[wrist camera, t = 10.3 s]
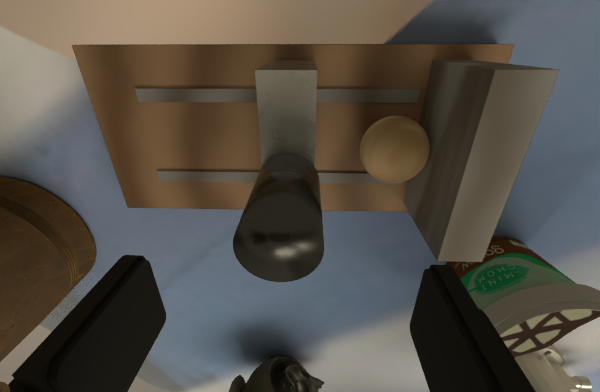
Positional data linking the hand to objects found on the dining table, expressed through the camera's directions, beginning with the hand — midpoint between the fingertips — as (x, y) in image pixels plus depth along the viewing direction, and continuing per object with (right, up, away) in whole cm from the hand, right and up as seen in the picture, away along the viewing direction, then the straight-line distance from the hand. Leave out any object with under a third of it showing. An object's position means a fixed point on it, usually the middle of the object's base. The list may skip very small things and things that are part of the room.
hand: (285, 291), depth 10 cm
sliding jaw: (0, +8, +14) cm, 16 cm away
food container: (+20, -3, +22) cm, 30 cm away
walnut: (+8, +8, +14) cm, 18 cm away
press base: (0, +9, +16) cm, 18 cm away
